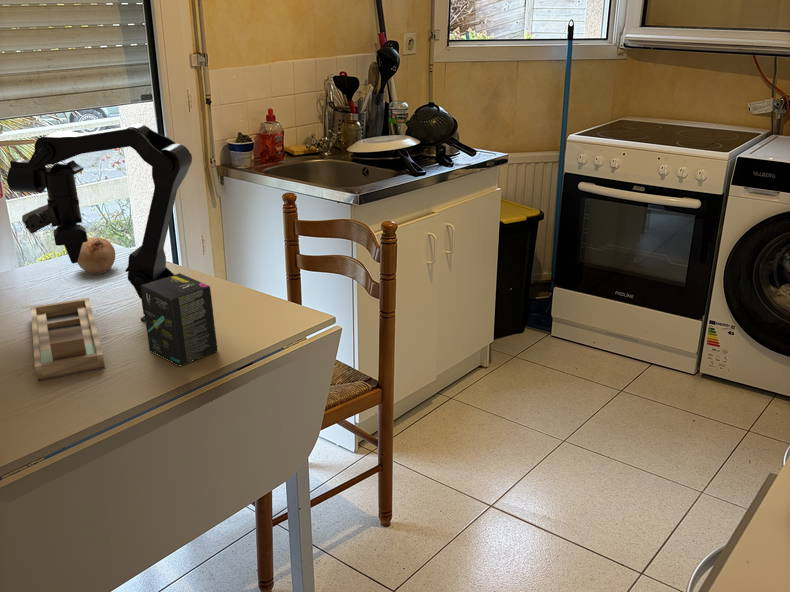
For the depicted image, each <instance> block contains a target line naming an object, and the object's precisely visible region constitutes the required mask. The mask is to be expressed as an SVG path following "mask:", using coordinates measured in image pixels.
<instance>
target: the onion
mask: <svg viewBox="0 0 790 592" xmlns="http://www.w3.org/2000/svg"><path fill="white" fill-rule="evenodd" d="M87 240H88V241H87V242H83V244H82V247H81V251H80V254H79V258H78V262H77V263H76V264H77V266H79V267H80V269H81V270H83V271H84V272H85V273H86V274H102V273H103V274H104V273H106V272H108V271H109V270H110V269H111V268H112V266H113V265H114V263H115V261H116V250H115V248H114V246H113V244H112V243H111V242H110V241H109V240H107V239H105V238H102V237H98V236H97V237H94V236H93V237H89V238H87Z"/></svg>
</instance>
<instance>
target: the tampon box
mask: <svg viewBox="0 0 790 592" xmlns="http://www.w3.org/2000/svg"><path fill="white" fill-rule="evenodd" d="M141 291H142V298H143V306H144V313H145V315H144V316H145V320H146V321H145V325H146V326H145V327H146V333H147V335H146V336H147V342H148V351H149V352H151V351H152V352H151V353H153V352H154V353H153V354H155V353H156V354H158V355H160V356H162V357H164V358H166V359H168V360H170V361H172V362H173V363H175V364H177V365H182V366H184V365H183V364H185V363H187V364H189V363H191V362H190V361H192V360H194V361H196V359H197V360H199V359H202V358H204V357H207V356H209V355H211V354H210V353H212V354H214V353H216V352H215V351H217V352H218V351H219V350H218V343H217V337H216V336H217V335H216V334H217V333H216V326H215V318H214V317H215V316H214V307H213V300H212V299H213V298H212V292H211V285H208V284H206V283H203V282H202V281H199V280H196V279H194V278H192V277H189V276H187V275H185V274H183V273H175V274H174V275H173V276H169V277H166V278H163V279H159V280H157V281H154V282H150V283H147V284H143V285H141ZM213 352H214V353H213ZM156 354H155V355H156ZM208 354H209V355H208ZM158 355H157V356H158ZM206 355H207V356H206ZM160 356H159V357H160ZM203 356H204V357H203ZM162 357H161V358H162ZM201 357H202V358H201ZM164 358H163V359H164ZM198 358H199V359H198ZM166 359H165V360H166ZM168 360H167V361H168ZM170 361H169V362H170ZM172 362H171V363H172ZM188 362H189V363H188ZM192 362H193V361H192ZM173 363H172V364H173ZM175 364H174V365H175ZM177 365H176V366H177ZM185 365H186V364H185Z"/></svg>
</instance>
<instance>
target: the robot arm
mask: <svg viewBox="0 0 790 592" xmlns="http://www.w3.org/2000/svg"><path fill="white" fill-rule="evenodd" d="M129 147H130V148H132V149H133V150H134V151H135V152H136V153H137V154H138V155H139V156H140V159H142V160H143V162H145V163H147V164H148V165H149V166H151V177H152V182H153V184H154V185H153V186H154V187H153V188H154V189H153V193H152V198H151V202H150V207H149V212H148V216H147V220H146V221H147V222H146V225H145V230H144V234H143V238H142V241H141V242H142V244H141V245H140V246H139V247H138V248H136V249H135V250H133V251H132V252H131V253H130V254H128V255H129V256H128V265H127V267H126V269H125V271H124V272H125V273H127V280H128V282H129V283H130V285H132V286H133V288H134V290H135V292H136V294H137V296H138V298H139V299H141V306H142V314H143V316H141V317H140V322H141V321H142V322H146V320H145V313H144V306H143V298H142V291H141V285H143V284H147V283H150V282H154V281H157V280H159V279H163V278H166V277H169V276H173V275H175V274H174V272H172V271H171V270H170V269H169V268H168V267H167V257H166V253H165V248H164V247H165V243H166V239H167V236H168V235H167V234H168V230H169V227H170V222H171V220H172V219H171V217H172V214H173V209H174V205H175V201H176V198H177V193H178V189H179V187H180V186H181V184H182V183H183V180H184V179H185V177H186V176H187V174H188V172H189V169H190V167H191V165H192V163H193V157H192V156H193V155H192V153H191V152H190V150H189V149H188V148H187V147H186V146H185V145H183V144H182V143H176V142H175V141H174V140H172V139H170V138H169V137H168V136H165V135H164V134H161V133H160V132H159V133H158V132H156V131H154V130H152V129H151V128H150V127H149V126H147V125H145V124H143V123H136V124H134V125H129V126H122V127H116V128H108V129H103V130H97V131H96V130H95V131H90V132H77V131H69V130H57V131H54V132H52V133H49V134H46V135H43V136H41V137H38V138H37V139H36V140H35V143H34V151H33V153H32V155H31V156H30V158H29V159H28V160H26V159H21V158H16V159H15V158H14V159H13V160H9V165H10V167H9V169H8V171H7V177H6V183H7V186H8V188H9V190H10V191H12V192H15V193H36V194H41V193H43V192H44V191H45V189H46V192H47V198H46V200H47V203H46V204H45V205H43V206H40V207H38V208H35V209H33V210H30V211H29V212H27V213H25V214H23V215H22V216H21V219H22V223H23V224H24V226H25V228H26V230H28V232H29V233H30V234H34V233H37V232H38V231H39V230H41V229H44V228H45V227H47V226H49V225H51V227H52V228H53V227H54V228H55V227H56V228H55V229H53V237H54V239H53V240H54V244H55V246H60V247H61V246H64V248H65V250H66V253H67V256H68V257H69V260H70V262H71V264H78V263H77V262H78V258H79V254H80V251H81V247H82V244H83V242H87V241H88V240H87V239H88V235H87V234H88V233H87V230H86V228H85V227H84V226H82V223H83V219H82V213H81V209H80V200H79V195H78V189H77V184H76V178H75V175H76V174H79V173H81V172H82V171H84V167H83V166H81V165H80V164H78V163H77V162H75V160H73V159H72V160H71V161H69V162H68V161H67V163H60V162H64V161H66V160H68V159H71V158H74V157H77V156H79V155H83V154H89V153H96V152H103V151H110V150H117V149H121V148H129ZM48 165H50V167H47V166H48ZM51 165H52V167H51ZM80 223H81V224H80Z"/></svg>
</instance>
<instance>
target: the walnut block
mask: <svg viewBox="0 0 790 592" xmlns="http://www.w3.org/2000/svg"><path fill="white" fill-rule="evenodd" d="M49 340H50V347H51V352H52V358H53V361H56V360H61V359H67V358H72V357H78V356H83V355H87V354H86V349H85V343H84V337H83V332H82V327H81V326H79V327H73V328H67V329H61V330H55V331H49Z"/></svg>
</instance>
